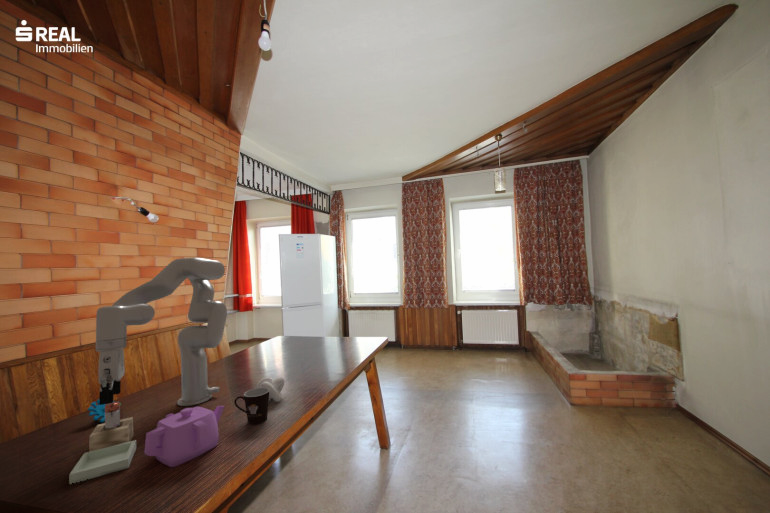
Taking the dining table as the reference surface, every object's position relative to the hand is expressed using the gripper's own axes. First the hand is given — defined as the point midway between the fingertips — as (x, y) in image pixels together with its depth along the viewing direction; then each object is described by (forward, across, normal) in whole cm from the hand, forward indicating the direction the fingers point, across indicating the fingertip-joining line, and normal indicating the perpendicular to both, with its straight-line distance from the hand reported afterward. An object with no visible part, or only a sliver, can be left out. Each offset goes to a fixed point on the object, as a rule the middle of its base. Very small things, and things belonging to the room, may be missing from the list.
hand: (110, 398), depth 100 cm
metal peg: (+15, +1, -1) cm, 15 cm away
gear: (+15, +28, +7) cm, 32 cm away
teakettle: (+15, -17, -22) cm, 31 cm away
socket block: (+15, +1, -1) cm, 15 cm away
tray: (+15, -12, -2) cm, 19 cm away
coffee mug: (+14, -8, -42) cm, 45 cm away
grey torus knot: (+14, +7, -51) cm, 53 cm away
